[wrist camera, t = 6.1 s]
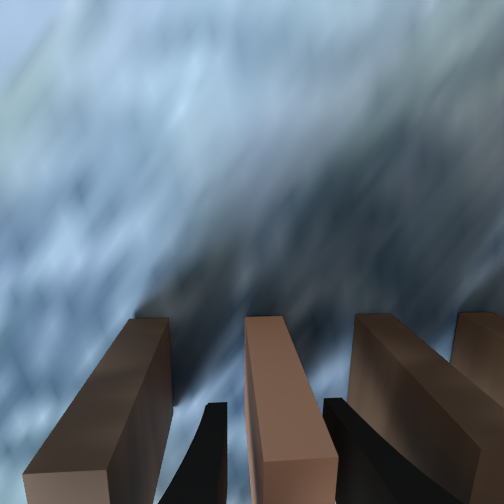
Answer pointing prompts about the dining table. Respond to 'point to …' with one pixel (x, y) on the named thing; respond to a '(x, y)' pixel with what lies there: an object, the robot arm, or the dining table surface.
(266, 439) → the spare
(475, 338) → the domino
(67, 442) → the domino
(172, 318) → the dining table surface
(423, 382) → the domino
